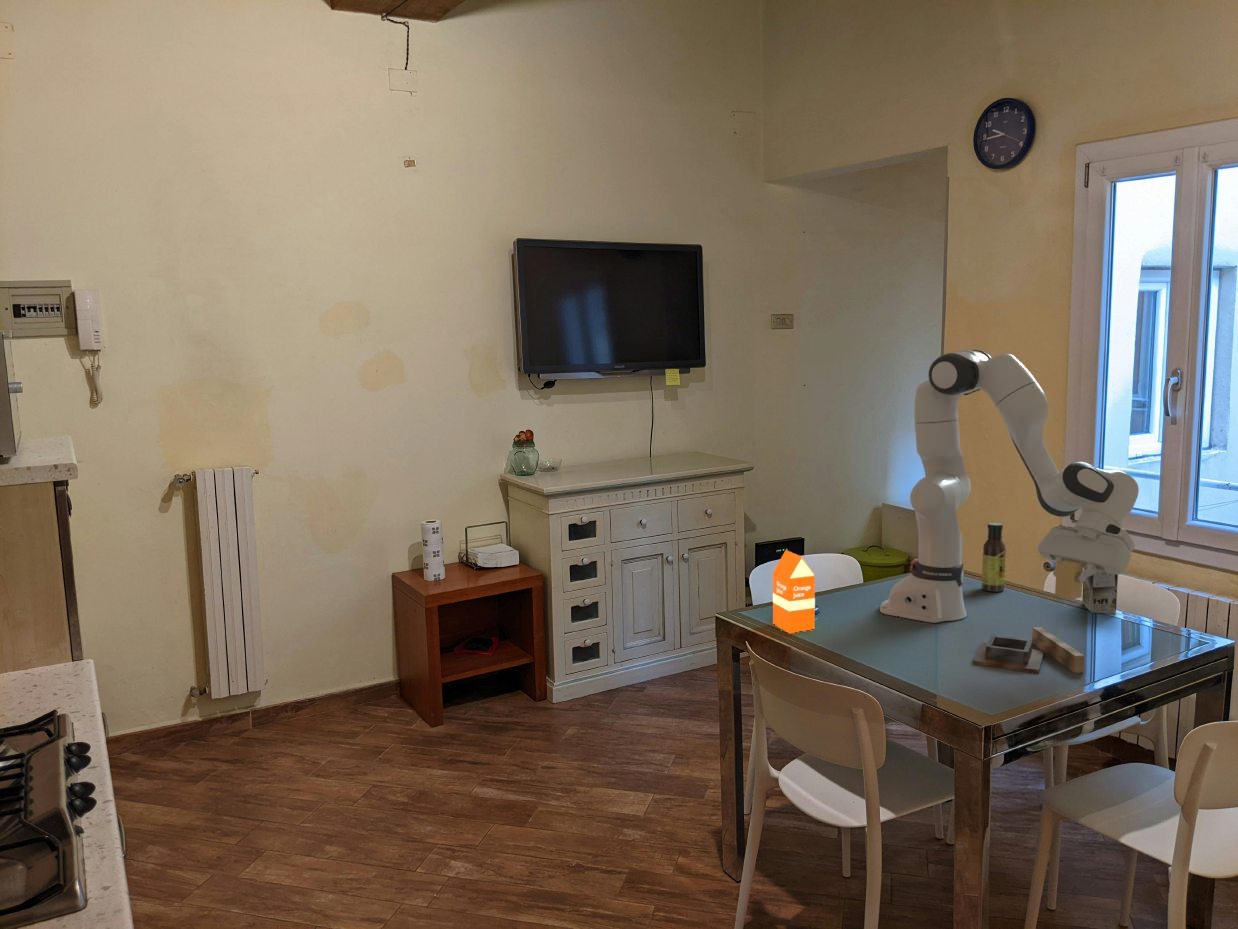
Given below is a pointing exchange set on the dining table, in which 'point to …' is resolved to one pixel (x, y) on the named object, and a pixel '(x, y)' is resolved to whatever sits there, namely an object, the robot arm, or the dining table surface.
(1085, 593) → the coffee box
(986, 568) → the sauce bottle
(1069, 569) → the stop block
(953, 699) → the dining table surface
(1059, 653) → the strip
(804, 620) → the orange juice
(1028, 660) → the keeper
